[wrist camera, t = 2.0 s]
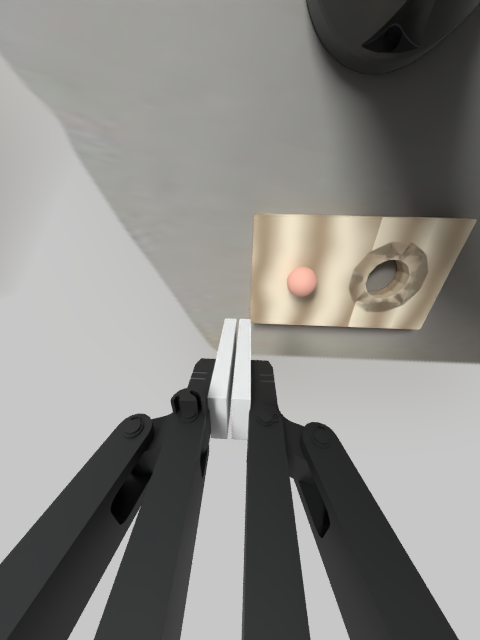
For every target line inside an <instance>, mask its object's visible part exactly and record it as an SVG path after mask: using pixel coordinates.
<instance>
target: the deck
mask: <svg viewBox="0 0 480 640" xmlns="http://www.w3.org/2000/svg"><path fill="white" fill-rule="evenodd" d="M476 221H477V219H466V218H437V217H389V216H342V215H294V214H254V229H253V252H252V274H251V296H250V319H251V323H261V324H288V325H314V326H340V327H366V328H393V329H419V330H420V328H421V326H422V324H423V323H424V321H425V319H426V317H427V315H428V313H429V311H430V309H431V307H432V305H433V303H434V301H435V300H436V298H437V296H438V294H439V292H440V290H441V288H442V286H443V284H444V282H445V280H446V278H447V277H448V275H449V273H450V271H451V269H452V267H453V265H454V263H455V261H456V259H457V257H458V256H459V254H460V252H461V250H462V248H463V246H464V244H465V242H466V240H467V238H468V236H469V234H470V233H471V231H472V229H473V227H474V225H475V223H476ZM387 260H395V261H396V265H397V272H396V275H395V277H394V280H393V281H392V282H391V283H390V284H389V285H387V286H386V287H385V288H383V289H380V290H378V291H376V292H375V291H367V289H366V285H365V284H366V281H367V278H368V275H369V273H370V272H371V271H372V270H373V269H374V268H375V267H376V266H377V265H378V264H381V263H383V262H385V261H387ZM298 267H308V268H310V269H312V270H313V271H314V272H315V274H316V276H317V286H316V288H315V290H314V291H313V292H312V293H311V294H309V295H307V296H302V297H300V296H296V295H294V294H292V293H291V292H290V291H289V289H288V287H287V278H288V276H289V274H290V273H291V272H292V271H293V270H294V269H296V268H298Z"/></svg>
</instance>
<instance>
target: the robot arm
mask: <svg viewBox="0 0 480 640" xmlns="http://www.w3.org/2000/svg"><path fill="white" fill-rule="evenodd" d="M307 3H308V8H309V12H310V15H311V18H312V21H313V24H314V27H315V29H316V31H317V33H318V36H319V37H320V39H321V41H322V43H323V44H324V46H325V47H326V49H327V50H328V51H329V53H330V54H331V55H332V56H333V57H334V58H335V59H336V60H337V61H339V62H340V63H341V64H343V65H344V66H346V67H347V68H349V69H351V70H354V71H357V72H361V73H367V74H380V73H386V72H390V71H394V70H397V69H399V68H402V67H404V66H406V65H408V64H410V63H412V62H413V61H415V60H417V59H418V58H420V57H421V56H423V55H424V54H425V53H427V52H428V51H429V50H431V49H432V48H433V47H434V46H435V45H437V44H438V43H439V42H440V41H441V40H442V39H444V38H445V37H446V36H447V35H448V34H449V33H450V32H452V31H453V30H454V29H455V28H456V27H457V26H458V25H459V24H460V23H461V22H462V21H463V20H464V19H465V18H466V17H467V16H468V15H469V14H470V13H471V12H472V11H473V10H474V9H475V7H476V6H477V5H478V4H479V3H480V0H307ZM235 357H236V360H235ZM234 367H235V370H234ZM233 377H234V380H233ZM232 387H233V391H232ZM231 397H232V439H237V440H238V439H239V440H248V449H247V476H246V510H245V544H244V545H245V547H244V578H243V613H242V640H310V633H309V625H308V617H307V610H306V602H305V594H304V586H303V579H302V570H301V563H300V555H299V547H298V540H297V532H296V524H295V516H294V509H293V500H292V493H291V485H290V477H292V478H294V481H295V484H296V487H297V490H298V492H299V495H300V498H301V501H302V503H303V507H304V510H305V512H306V515H307V518H308V521H309V524H310V527H311V530H312V532H313V535H314V538H315V541H316V544H317V546H318V549H319V552H320V555H321V558H322V561H323V564H324V567H325V569H326V572H327V575H328V578H329V581H330V584H331V587H332V589H333V592H334V595H335V598H336V601H337V603H338V606H339V609H340V612H341V615H342V618H343V621H344V624H345V626H346V629H347V632H348V635H349V638H350V640H459V639H458V638H457V636H456V634H455V633H454V631H453V629H452V628H451V626H450V624H449V623H448V621H447V619H446V618H445V616H444V614H443V613H442V611H441V609H440V608H439V606H438V604H437V603H436V601H435V599H434V598H433V596H432V595H431V593H430V591H429V589H428V588H427V586H426V584H425V583H424V581H423V579H422V578H421V576H420V574H419V573H418V571H417V569H416V568H415V566H414V565H413V563H412V561H411V560H410V558H409V556H408V554H407V553H406V551H405V549H404V548H403V546H402V544H401V543H400V541H399V539H398V538H397V536H396V534H395V533H394V531H393V529H392V528H391V526H390V524H389V523H388V521H387V519H386V517H385V516H384V514H383V512H382V511H381V509H380V507H379V506H378V504H377V502H376V501H375V499H374V497H373V496H372V494H371V492H370V491H369V489H368V487H367V486H366V484H365V482H364V481H363V479H362V477H361V476H360V474H359V473H358V471H357V469H356V467H355V466H354V464H353V462H352V461H351V459H350V457H349V456H348V454H347V453H346V451H345V449H344V447H343V446H342V444H341V442H340V441H339V439H338V437H337V436H336V434H335V433H334V432H333V431H332V430H331V429H330V428H329V427H327V426H326V425H324V424H321V423H318V422H311V423H309V424H307V425H306V426H305V427H304V426H302V425H299V424H296V423H293V422H291V421H289V420H288V419H286V418H285V417H284V416H283V415H282V414H281V413H280V411H279V408H278V404H277V396H276V389H275V382H274V374H273V367H272V366H271V364H270V363H269V361H262V360H251V319H240V320H239V330H238V340H237V350H236V319H228V318H225V322H224V326H223V331H222V335H221V340H220V344H219V348H218V353H217V357H216V359H203V358H202V359H200V360H199V361H198V362H197V364H196V365H195V367H194V370H193V373H192V376H191V379H190V382H189V385H188V387H187V388H186V389H182V390H180V391H178V392H177V393H176V394H175V395H174V396H173V397H172V399H171V405H172V409H173V413H171V414H169V415H167V416H164V417H160V418H156V419H150V417H149V416H147V415H146V414H135V415H132V416H130V417H128V418H126V419H125V420H124V421H123V422H121V423H120V424H119V425H118V426H117V428H116V429H115V430H114V431H113V432H112V433H111V435H110V436H109V437H108V438H107V439H106V441H105V442H104V443H103V444H102V445H101V446H100V448H99V449H98V450H97V451H96V452H95V454H94V455H93V456H92V457H91V458H90V459H89V461H88V462H87V463H86V464H85V465H84V466H83V468H82V469H81V470H80V471H79V472H78V473H77V475H76V476H75V477H74V478H73V479H72V481H71V482H70V483H69V484H68V485H67V486H66V488H65V489H64V490H63V491H62V492H61V493H60V495H59V496H58V497H57V498H56V499H55V501H54V502H53V503H52V504H51V505H50V506H49V508H48V509H47V510H46V511H45V512H44V513H43V515H42V516H41V517H40V518H39V519H38V520H37V522H36V523H35V524H34V525H33V526H32V528H31V529H30V530H29V531H28V532H27V533H26V535H25V536H24V537H23V538H22V539H21V541H20V542H19V543H18V544H17V545H16V546H15V548H14V549H13V550H12V551H11V552H10V554H9V555H8V556H7V557H6V558H5V559H4V561H3V562H2V563H1V564H0V640H67V639H68V638H69V636H70V634H71V632H72V630H73V628H74V627H75V625H76V623H77V621H78V619H79V617H80V616H81V614H82V612H83V610H84V608H85V607H86V605H87V603H88V601H89V599H90V597H91V595H92V594H93V592H94V590H95V588H96V586H97V585H98V583H99V581H100V579H101V577H102V575H103V574H104V572H105V570H106V568H107V566H108V565H109V563H110V561H111V559H112V557H113V556H114V554H115V552H116V550H117V548H118V546H119V545H120V543H121V541H122V539H123V537H124V536H125V534H126V532H127V530H128V528H129V526H130V525H131V523H132V521H133V519H134V517H135V515H136V513H137V512H138V510H139V508H140V510H139V513H138V516H137V519H136V522H135V525H134V527H133V530H132V533H131V536H130V539H129V542H128V544H127V547H126V550H125V553H124V556H123V559H122V561H121V564H120V567H119V570H118V573H117V576H116V578H115V582H114V584H113V587H112V590H111V593H110V595H109V598H108V601H107V604H106V607H105V610H104V613H103V615H102V618H101V621H100V624H99V627H98V629H97V632H96V635H95V638H94V640H180V636H181V630H182V623H183V617H184V610H185V604H186V598H187V591H188V585H189V578H190V572H191V565H192V559H193V552H194V545H195V540H196V533H197V527H198V520H199V514H200V507H201V501H202V494H203V488H204V481H205V475H206V468H207V461H208V456H209V439H210V434H211V438H220V439H227V436H228V426H229V416H230V407H231ZM140 506H141V507H140Z"/></svg>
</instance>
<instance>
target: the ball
mask: <svg viewBox="0 0 480 640" xmlns="http://www.w3.org/2000/svg"><path fill="white" fill-rule="evenodd" d="M316 286H317V276H316V274H315V272H314V271H313V270H312V269H310V268H308V267H298V268H296V269H294V270H293V271H292V272H291V273H290V274H289V276H288V278H287V287H288V289H289V291H290V292H291V293H292V294H294V295H296V296H300V297H302V296H307V295H309V294H311V293H312V292H313V291H314V290H315V288H316Z"/></svg>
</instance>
